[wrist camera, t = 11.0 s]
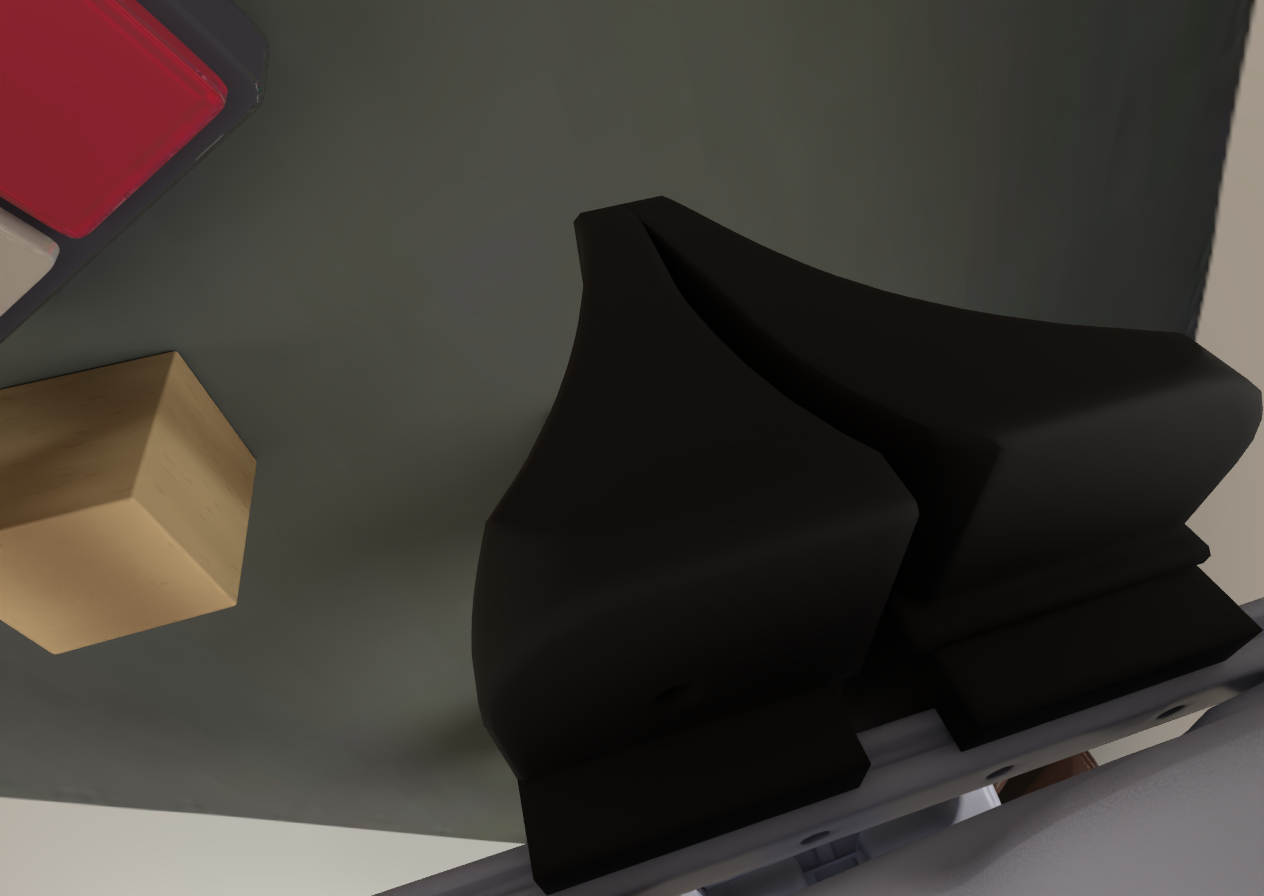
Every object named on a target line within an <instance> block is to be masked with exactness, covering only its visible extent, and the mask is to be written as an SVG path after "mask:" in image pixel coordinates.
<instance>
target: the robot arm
mask: <svg viewBox="0 0 1264 896" xmlns="http://www.w3.org/2000/svg"><path fill="white" fill-rule="evenodd" d="M574 227H575V234H576V240H577V247H578V254H579V260H580V267H581V273H582V280H583V293H582V301H581V308H580V315H579V322H578V327H577V332H576V336H575V341H574V345H573V349H572V352H571V356H570V359H569V363H568V366H567V369H566V372H565V375H564V378H563V381H562V383H561V386H560V389H559V392H558V395H557V397H556V400H555V402H554V405H553V407H552V409H551V412H550V414H549V416H548V418H547V420H546V422H545V424H544V426H543V428H542V430H541V432H540V434H539V436H538V438H537V440H536V442H535V444H534V446H533V448H532V450H531V452H530V454H529V456H528V458H527V460H526V461H525V463H524V465H523V466H522V468H521V470H520V472H519V473H518V475H517V476H516V478H515V479H514V481H513V482H512V484H511V485H510V487H509V488H508V490H507V491H506V493H505V494H504V496H503V497H502V499H501V500H500V502H499V504H498V505H497V507H496V508H495V510H494V511H493V513H492V514H491V516H490V517H489V519H488V520H487V522H486V525H485V530H484V535H483V540H482V545H481V551H480V556H479V562H478V568H477V575H476V582H475V589H474V598H473V611H472V660H473V668H474V675H475V682H476V689H477V696H478V704H479V708H480V712H481V716H482V720H483V724H484V726H485V728H486V729H487V731H488V732H489V734H490V736H491V737H492V739H493V740H494V742H495V744H496V745H497V747H498V749H499V750H500V752H501V753H502V755H503V757H504V758H505V760H506V762H507V763H508V765H509V766H510V768H511V770H512V771H513V773H514V774H515V776H516V778H517V779H518V785H519V792H520V798H521V805H522V811H523V817H524V824H525V830H526V837H527V843H528V844H525V845H522V846H519V847H516V848H513V849H510V850H507V851H504V852H501V853H498V854H496V855H492V856H489V857H486V858H483V859H480V860H477V861H474V862H471V863H468V864H465V865H462V866H459V867H456V868H453V869H451V870H447V871H444V872H441V873H438V874H435V875H432V876H429V877H426V878H423V879H421V880H417V881H414V882H411V883H409V884H405V885H402V886H399V887H396V888H394V889H390V890H387V891H384V892H382V893H378V894H375V895H372V896H1264V598H1261V599H1258V600H1255V601H1252V602H1249V603H1246V604H1243V605H1240V606H1238V605H1237V604H1236V603H1235V602H1234V601H1233V600H1232V599H1231V598H1230V597H1229V596H1228V595H1227V594H1226V593H1225V592H1224V591H1222V589H1220V587H1219V586H1218V585H1217V584H1215V583H1214V582H1213V581H1212V580H1211V579H1210V578H1209V577H1208V576H1207V575H1206V574H1205V573H1204V572H1203V571H1202V570H1201V569H1200V568H1199V567H1198V566H1197V565H1198V564H1201V563H1204V562H1205V561H1206V560H1207V559H1208V558H1209V557H1210V556H1211V554H1210V550H1209V546H1208V545H1207V544H1206V543H1205V542H1203V541H1202V540H1201V539H1200V538H1199V537H1198V536H1197V535H1196V534H1195V533H1194V532H1193V531H1192V530H1191V529H1190V528H1188V526H1186V525H1185V522H1186V521H1187V520H1188V519H1189V518H1190V516H1191V515H1192V514H1193V513H1194V512H1195V511H1196V510H1197V508H1198V507H1199V506H1200V505H1201V504H1202V503H1203V501H1204V500H1205V499H1206V498H1207V497H1208V495H1209V494H1210V493H1211V492H1212V491H1213V490H1214V489H1215V487H1216V486H1217V485H1218V484H1219V483H1220V482H1221V480H1222V479H1223V478H1224V477H1225V476H1226V475H1227V473H1228V472H1229V471H1230V470H1231V469H1232V468H1233V466H1234V465H1235V464H1236V463H1237V461H1238V460H1239V458H1240V457H1241V456H1242V455H1243V453H1244V452H1245V450H1246V449H1247V448H1248V446H1249V445H1250V444H1251V442H1252V441H1253V439H1254V437H1255V434H1256V432H1257V429H1258V427H1259V424H1260V422H1261V419H1262V411H1263V407H1262V394H1261V391H1260V390H1259V389H1258V388H1257V387H1256V386H1255V385H1253V384H1252V383H1251V382H1250V381H1249V380H1248V379H1246V378H1245V377H1244V376H1242V375H1241V374H1239V373H1238V372H1237V371H1235V370H1234V369H1233V368H1231V367H1230V366H1228V365H1227V364H1225V363H1224V362H1223V361H1221V360H1220V359H1219V358H1217V357H1216V356H1214V355H1213V354H1212V353H1210V352H1209V351H1207V350H1206V349H1205V348H1203V347H1202V346H1200V345H1199V344H1198V343H1196V342H1195V341H1194V340H1192V339H1191V338H1189V337H1187V336H1186V335H1184V334H1181V333H1175V332H1162V331H1149V330H1135V329H1122V328H1109V327H1095V326H1082V325H1069V324H1060V323H1052V322H1045V321H1037V320H1030V319H1023V318H1015V317H1008V316H1001V315H995V314H989V313H983V312H977V311H972V310H966V309H960V308H955V307H951V306H946V305H942V304H937V303H933V302H928V301H924V300H919V299H915V298H910V297H906V296H902V295H899V294H895V293H891V292H887V291H883V290H880V289H877V288H873V287H870V286H867V285H864V284H861V283H858V282H854V281H851V280H848V279H845V278H842V277H838V276H835V275H833V274H830V273H827V272H824V271H822V270H819V269H816V268H814V267H811V266H809V265H806V264H804V263H802V262H799V261H797V260H794V259H792V258H790V257H787V256H785V255H782V254H780V253H778V252H775V251H773V250H771V249H769V248H767V247H764V246H762V245H760V244H758V243H756V242H754V241H752V240H750V239H748V238H746V237H744V236H742V235H740V234H738V233H736V232H734V231H732V230H730V229H728V228H726V227H724V226H722V225H720V224H718V223H716V222H714V221H712V220H710V219H708V218H706V217H705V216H703V215H701V214H699V213H697V212H695V211H693V210H691V209H689V208H687V207H685V206H683V205H681V204H679V203H677V202H675V201H673V200H671V199H669V198H666V197H664V196H658V197H654V198H649V199H644V200H639V201H635V202H630V203H625V204H621V205H616V206H611V207H606V208H602V209H597V210H592V211H587V212H583V213H580V214H579V216H578V217H577V218H576V220H575V221H574ZM1217 704H1218V705H1217ZM1214 705H1216V706H1214ZM1211 706H1214V707H1212V708H1210V709H1208V710H1207V711H1206V712H1205V713H1204V714H1203V715H1202V717H1200V718H1199V719H1198V720H1197V722H1196V723H1195V724H1194V725H1193V726H1192V727H1191V728H1190V729H1189V730H1188V731H1187V732H1185V733H1184V734H1183V735H1181V736H1180V737H1177V738H1174V739H1171V740H1169V741H1166V742H1163V743H1160V744H1157V745H1155V746H1152V747H1149V748H1146V749H1144V750H1141V751H1138V752H1136V753H1132V754H1130V755H1127V756H1124V757H1121V758H1119V759H1117V760H1114V761H1111V762H1109V763H1106V764H1104V765H1101V766H1098V767H1096V768H1093V769H1091V770H1088V771H1085V772H1083V773H1080V774H1078V775H1075V776H1073V777H1070V778H1067V779H1065V780H1062V781H1060V782H1057V783H1055V784H1052V785H1049V786H1047V787H1044V788H1042V789H1039V790H1036V791H1034V792H1031V793H1029V794H1026V795H1024V796H1021V797H1019V798H1016V799H1014V800H1011V801H1009V802H1007V803H1004V804H1002V805H1001V802H1000V800H999V798H998V796H997V793H996V791H995V789H994V786H993V784H994V783H997V782H1000V781H1003V780H1006V779H1009V778H1011V777H1014V776H1017V775H1020V774H1023V773H1025V772H1028V771H1031V770H1034V769H1037V768H1039V767H1042V766H1045V765H1048V764H1051V763H1054V762H1056V761H1059V760H1062V759H1065V758H1068V757H1070V756H1073V755H1076V754H1079V753H1082V752H1084V751H1087V750H1090V749H1093V748H1096V747H1098V746H1101V745H1104V744H1107V743H1110V742H1113V741H1115V740H1118V739H1121V738H1124V737H1127V736H1130V735H1132V734H1135V733H1138V732H1141V731H1143V730H1146V729H1149V728H1152V727H1155V726H1158V725H1160V724H1163V723H1166V722H1169V721H1172V720H1175V719H1177V718H1180V717H1183V716H1185V715H1188V714H1191V713H1194V712H1197V711H1200V710H1203V709H1205V708H1208V707H1211Z"/></svg>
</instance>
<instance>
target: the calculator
mask: <svg viewBox="0 0 1264 896" xmlns="http://www.w3.org/2000/svg"><path fill="white" fill-rule="evenodd" d="M268 58H269V47H268V43H267V41H266V38H265V37H264V35H263V34H262V32H261V31H260V30H259V29H258V28H257V27H256V26H255V25H254V24H253V23H252V22H251V21H250V20H249V19H248V18H247V17H246V15H245V14H244V13H243V12H242V11H241V10H240V9H239V8H238V7H237V6H236V5H235V4H234V3H233V2H232V1H231V0H0V344H1V343H2V342H3V341H4V340H5V339H6V338H7V337H9V336H10V335H11V334H12V333H13V332H14V331H15V330H16V329H17V328H18V327H19V326H21V325H22V324H23V323H24V322H25V321H26V320H27V319H28V318H29V317H30V316H32V315H33V314H34V313H35V312H36V311H37V310H38V309H39V308H40V307H41V306H42V305H44V304H45V303H46V302H47V301H48V300H49V299H50V298H51V297H52V296H53V295H55V294H56V293H57V292H58V291H59V290H60V289H61V288H62V287H63V286H64V285H65V284H67V283H68V282H69V281H70V280H71V279H72V278H73V277H74V276H75V275H76V274H78V273H79V272H80V271H81V270H82V269H83V268H84V267H85V266H86V265H87V264H88V263H90V262H91V261H92V260H93V259H94V258H95V257H96V256H97V255H98V254H99V253H101V252H102V251H103V250H104V249H105V248H106V247H107V246H108V245H109V244H110V243H111V242H113V241H114V240H115V239H116V238H117V237H118V236H119V235H120V234H121V233H122V232H124V231H125V230H126V229H127V228H128V227H129V226H130V225H131V224H132V223H133V222H134V221H136V220H137V219H138V218H139V217H140V216H141V215H142V214H143V213H144V212H145V211H147V210H148V209H149V208H150V207H151V206H152V205H153V204H154V203H155V202H156V201H157V200H159V199H160V198H161V197H162V196H163V195H164V194H165V193H166V192H167V191H168V190H170V189H171V188H172V187H173V186H174V185H175V184H176V183H177V182H178V181H179V180H180V179H182V178H183V177H184V176H185V175H186V174H187V173H188V172H189V171H190V170H191V169H193V168H194V167H195V166H196V165H197V164H198V163H199V162H200V161H201V160H202V159H203V158H205V157H206V156H207V155H208V154H209V153H210V152H211V151H212V150H213V149H214V148H216V147H217V146H218V145H219V144H220V143H221V142H222V141H223V140H224V139H225V138H226V137H228V136H229V135H230V134H231V133H232V132H233V131H234V130H235V129H236V128H237V127H239V126H240V125H241V124H242V123H243V122H244V121H245V120H246V119H247V118H248V117H249V116H251V115H252V114H253V113H254V112H255V111H256V110H257V108H258V107H259V106H260V105H261V103H262V101H263V98H264V92H265V85H266V76H267V67H268Z"/></svg>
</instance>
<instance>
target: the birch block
mask: <svg viewBox="0 0 1264 896" xmlns="http://www.w3.org/2000/svg"><path fill="white" fill-rule="evenodd" d="M256 464H257V462H256V460H255V459H254V457H253V456H252V454H251V453H250V452H249V450H248V449H247V448H246V446H245V445H244V443H243V442H242V441H241V439H240V438H239V436H238V435H237V434H236V432H235V431H234V430H233V428H232V427H231V425H230V424H229V423H228V421H227V420H226V418H225V417H224V416H223V414H222V413H221V412H220V410H219V409H218V407H217V406H216V405H215V403H214V402H213V400H212V399H211V398H210V396H209V395H208V394H207V392H206V391H205V389H204V388H203V387H202V385H201V384H200V382H199V381H198V380H197V378H196V377H195V375H194V374H193V373H192V371H191V370H190V369H189V367H188V366H187V364H186V363H185V362H184V360H183V359H182V357H181V356H180V355H179V353H178V352H177V351H173V352H168V353H164V354H159V355H154V356H150V357H145V358H141V359H136V360H132V361H127V362H123V363H118V364H114V365H109V366H105V367H100V368H96V369H91V370H87V371H82V372H78V373H73V374H69V375H64V376H60V377H55V378H51V379H46V380H42V381H37V382H33V383H28V384H24V385H19V386H14V387H10V388H5V389H1V390H0V620H2V621H3V622H5V623H6V624H8V625H9V626H11V627H12V628H14V629H15V630H17V631H18V632H20V633H21V634H23V635H24V636H26V637H27V638H29V639H30V640H32V641H34V642H35V643H37V644H38V645H40V646H41V647H43V648H44V649H46V650H47V651H49V652H50V653H52V654H60V653H63V652H67V651H71V650H74V649H78V648H82V647H85V646H89V645H93V644H96V643H100V642H104V641H107V640H111V639H115V638H118V637H122V636H126V635H130V634H133V633H137V632H141V631H144V630H148V629H152V628H155V627H159V626H163V625H166V624H170V623H174V622H177V621H181V620H185V619H188V618H192V617H196V616H199V615H203V614H207V613H211V612H214V611H218V610H222V609H225V608H229V607H233V606H235V605H236V604H237V598H238V591H239V584H240V577H241V570H242V563H243V555H244V548H245V541H246V534H247V527H248V520H249V513H250V506H251V499H252V492H253V485H254V478H255V471H256Z"/></svg>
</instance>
